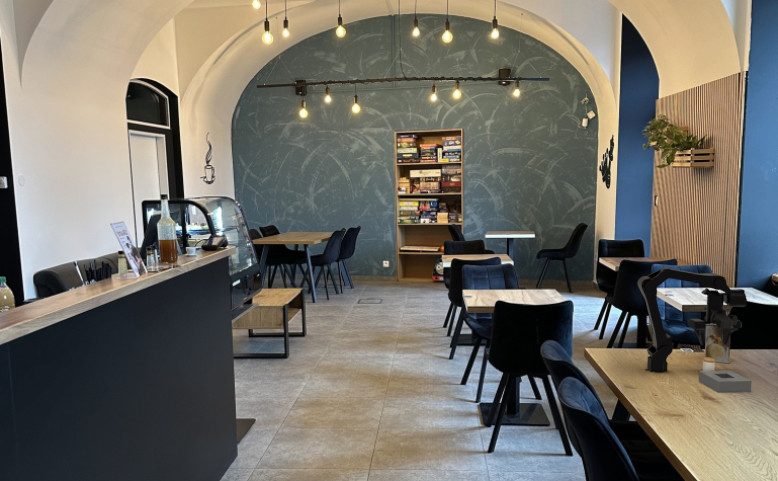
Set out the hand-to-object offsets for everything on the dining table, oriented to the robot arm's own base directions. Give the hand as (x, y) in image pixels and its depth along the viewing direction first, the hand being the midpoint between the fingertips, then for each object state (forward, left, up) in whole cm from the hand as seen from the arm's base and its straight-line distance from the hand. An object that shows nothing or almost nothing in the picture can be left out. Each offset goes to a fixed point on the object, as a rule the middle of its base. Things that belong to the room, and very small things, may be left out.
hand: (713, 344), depth 221 cm
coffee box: (+14, +19, -13) cm, 27 cm away
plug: (-4, -4, -12) cm, 14 cm away
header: (-5, -15, -12) cm, 20 cm away
